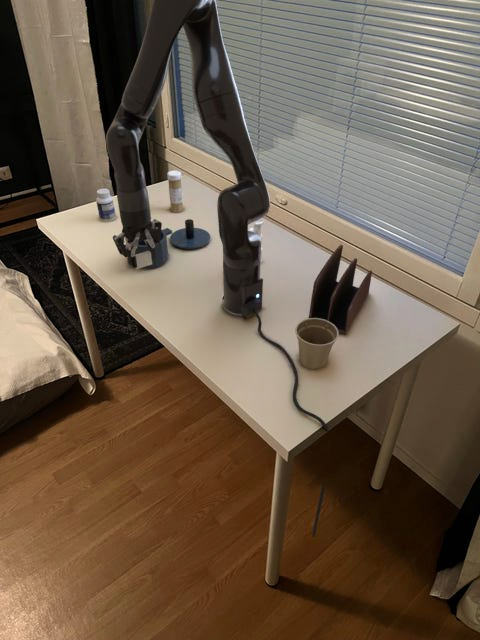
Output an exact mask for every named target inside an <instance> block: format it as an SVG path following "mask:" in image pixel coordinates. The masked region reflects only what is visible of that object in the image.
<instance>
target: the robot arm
mask: <svg viewBox="0 0 480 640" xmlns="http://www.w3.org/2000/svg"><path fill="white" fill-rule="evenodd" d="M182 28H183V31H184V34H185V37H186V39H187V43H188V46H189V51H190V55H191V77H192V79H191V81H192V82H191V83H192V93H193V98H194V103H195V106H196V109H197V113H198V116H199V120H200V123H201V126H202V128H203V130H204V132H205V133H206V134H207V136H208V138H210V139H211V141H212V142H213V143H214V144H215V145H216V146H217V147H218V148H219V149H220V150H221V151H222V152H223V154H224V155H225V156H226V157H227V159H228V160H229V163H230V165H231V166H232V169H233V172H234V175H235V178H236V182H237V183H236V184H234V185H231V186H228V187H225V188H224V189H222V190H221V191H220V193H219V194H218V197H217V203H216V210H217V211H216V212H217V223H218V224H217V225H218V233H219V239H220V241H221V244H222V282H223V283H222V285H223V286H222V287H223V289H222V290H223V291H222V292H223V296H222V302H223V309H224V311H225V312H226V313H227V314H229V315H231V316H232V317H236V318H237V317H239V318H243V319H248V318H250V317H251V316H253V315H255V317H256V319H257V322H258V325H257V332H258V334H259V336H260V337H261V338H262V339H263V340H265V341H266V342H268V343H269V344H271V345H273V346H275V347H276V348H278V349H280V350H281V351H282V353H283V354H284V356H285V357H286V358H287V360H288V362H289V363H290V366H291V368H292V370H293V371H292V372H293V374H294V385H293V391H292V400H293V404H294V406H295V408H296V409H297V410H298V411H299V412H301V413H303V414H305V415H307V416H308V417H310V418H313V419H314V420H317V421H318V422H319V423H320V425H322V427H323V429H324V431H325V432H329V428H328V426H327V424H326V422H325V421H324V420H323V419H322V418H321V417H319V416H318V415H316V414H315V413H313V412H311V411H308V410H306V409H304V408H303V407H302V406H301V405H300V404H299V402H298V399H297V391H298V386H299V373H298V371H297V368H296V365H295V362H294V360H293V359H292V357H291V356H290V354H289V352H287V350H286V349H285V348H284V347H283V346H282V345H281V344H279V343H277V342H276V341H273V340H271V339H269V338H268V337H266V336H265V335H264V333H263V332H262V319H261V316H260V314H259V313H258V312H260V311H261V310H262V309H263V295H264V294H263V293H264V292H263V290H264V278H262V276H261V267H262V265H261V264H262V262H261V260H262V253H261V246H262V240H261V238H260V237H259V236H258V235H257V234H256V233H254V232H252V231H248V229H249V225H251V224H253V223H255V222H258V221H259V220H262V219H263V218H264V217H266V216H267V215H268V213H269V211H270V208H271V200H270V199H271V198H270V193H269V190H268V187H267V184H266V181H265V179H264V176H263V173H262V170H261V168H260V165H259V162H258V159H257V157H256V154H255V150H254V147H253V144H252V140H251V137H250V134H249V130H248V127H247V123H246V119H245V114H244V110H243V105H242V102H241V98H240V95H239V92H238V91H239V90H238V87H237V84H236V80H235V77H234V73H233V71H232V66H231V63H230V59H229V56H228V52H227V49H226V46H225V43H224V39H223V35H222V31H221V25H220V19H219V13H218V7H217V0H152V3H151V8H150V14H149V17H148V21H147V26H146V29H145V32H144V36H143V39H142V43H141V46H140V50H139V52H138V56H137V58H136V61H135V64H134V66H133V69H132V71H131V73H130V76H129V79H128V81H127V83H126V86H125V88H124V91H123V94H122V98H121V103H120V105H119V107H118V110H117V111H116V114H115V116H114V118H113V120H112V122H111V124H110V126H109V128H108V129H107V132H106V136H105V138H106V139H105V141H106V149H107V154H108V157H109V159H110V163H111V165H112V169H113V173H114V181H115V187H116V199H117V205H118V212H119V217H120V222H121V225H122V228H121V233H118V234H117V235H116V234H114V235H113V236H112V240H113V242H114V244H115V247H116V248H117V251H118V253H119V255H121V256H123V257H124V258H127V262H128V265H129V267H131V268H133V269H135V268H137V262H136V256H135V250H136V249H137V246H138V243H139V242H141V241H145V243H146V245H147V246H146V249H147V251H150V252H151V258H152V261H153V260H154V257H155V248H154V247H155V245H156V244H159V243H160V239H161V230H162V227H163V223H162V222H161V221H160V220H158V219H156V218H154V219H153V220H152V214H151V207H150V197H149V191H148V188H147V182H146V174H145V169H144V165H143V164H142V162H141V159H140V151H139V150H140V149H139V145H140V144H139V143H140V140H141V138H142V136H143V134H144V131H145V128H146V125H147V122H148V121H149V118H150V116H151V115H152V113H153V112H154V110H155V108H156V106H157V104H158V101H159V99H160V97H161V94H162V92H163V90H164V87H165V85H166V81H167V76H168V71H169V64H170V59H171V54H172V50H173V47H174V44H175V42H176V39H177V38H178V36H179V33H180V32H181V30H182ZM151 228H152V236H151V235H150V231H151ZM125 237H126V241H125ZM132 242H133V243H132ZM125 245H126V247H125ZM135 270H136V269H135ZM325 490H326V484H324V483H321V489H320V494H319V499H318V504H317V509H316V513H315V519H314V524H313V528H312V535H311V536H312V537H313V538H315V537H316V534H317V528H318V523H319V518H320V514H321V509H322V505H323V500H324V495H325Z"/></svg>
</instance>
